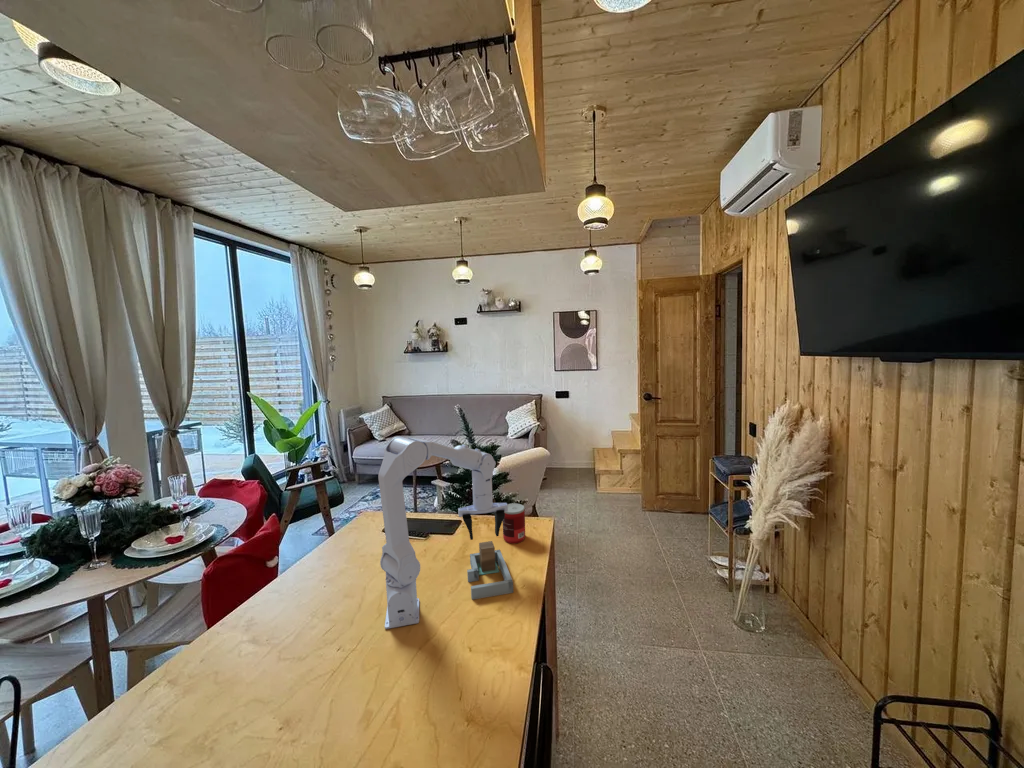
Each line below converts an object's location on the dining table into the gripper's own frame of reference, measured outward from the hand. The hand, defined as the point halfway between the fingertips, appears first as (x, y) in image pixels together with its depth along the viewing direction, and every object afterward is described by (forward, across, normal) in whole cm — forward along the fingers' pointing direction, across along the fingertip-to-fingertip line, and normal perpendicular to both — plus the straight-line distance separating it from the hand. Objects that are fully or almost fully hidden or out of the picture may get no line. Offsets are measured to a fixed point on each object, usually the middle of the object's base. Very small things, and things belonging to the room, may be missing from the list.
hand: (484, 536), depth 119 cm
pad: (+10, -1, 0) cm, 10 cm away
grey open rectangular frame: (+10, -1, +5) cm, 11 cm away
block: (+10, -1, 0) cm, 10 cm away
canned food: (+10, -12, -16) cm, 22 cm away
